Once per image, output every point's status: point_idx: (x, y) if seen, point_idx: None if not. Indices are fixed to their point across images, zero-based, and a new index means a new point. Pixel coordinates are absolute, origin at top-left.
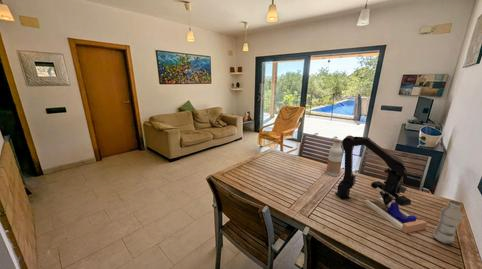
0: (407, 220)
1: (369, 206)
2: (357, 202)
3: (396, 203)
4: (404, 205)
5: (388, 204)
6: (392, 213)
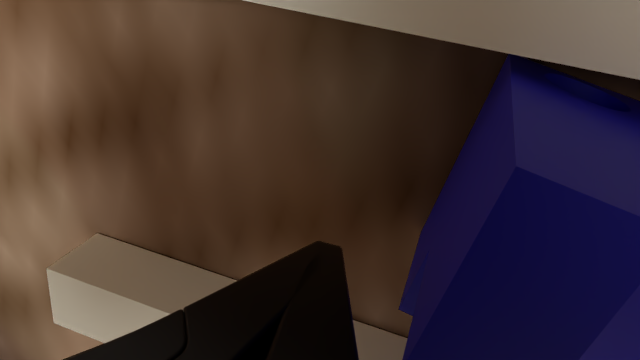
0: None
1: None
2: (74, 350)
3: (565, 265)
4: None
5: (285, 6)
6: (582, 355)
